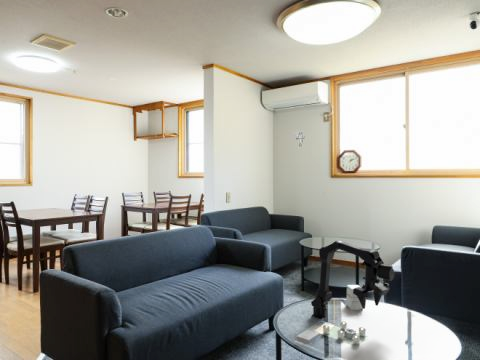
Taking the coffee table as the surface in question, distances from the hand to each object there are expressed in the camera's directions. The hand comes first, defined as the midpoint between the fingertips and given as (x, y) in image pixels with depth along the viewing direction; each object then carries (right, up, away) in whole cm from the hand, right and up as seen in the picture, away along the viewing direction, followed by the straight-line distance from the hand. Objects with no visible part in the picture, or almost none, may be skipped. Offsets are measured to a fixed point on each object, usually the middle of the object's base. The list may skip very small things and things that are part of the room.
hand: (370, 306), depth 168 cm
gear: (-11, -13, -4) cm, 18 cm away
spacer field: (-13, -13, -2) cm, 19 cm away
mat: (-15, -14, -1) cm, 20 cm away
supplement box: (+4, -13, +34) cm, 37 cm away
